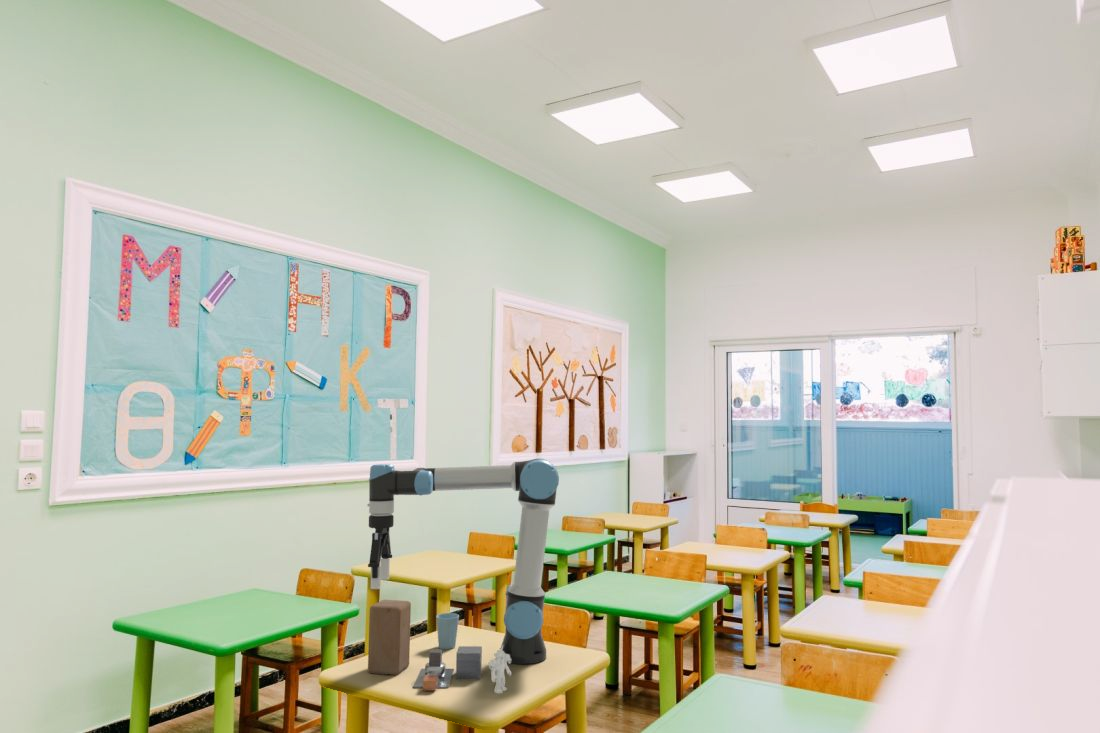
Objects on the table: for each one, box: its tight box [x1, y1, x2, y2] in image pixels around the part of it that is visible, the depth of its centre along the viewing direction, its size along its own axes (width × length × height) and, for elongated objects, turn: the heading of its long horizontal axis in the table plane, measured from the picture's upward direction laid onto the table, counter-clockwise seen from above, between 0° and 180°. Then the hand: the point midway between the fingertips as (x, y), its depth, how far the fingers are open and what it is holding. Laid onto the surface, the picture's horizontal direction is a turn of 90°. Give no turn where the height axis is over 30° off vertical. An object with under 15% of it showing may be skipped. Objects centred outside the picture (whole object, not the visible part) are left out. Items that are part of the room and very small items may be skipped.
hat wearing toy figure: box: [488, 646, 512, 694], centre depth 209 cm, size 9×4×12 cm, turn 148°
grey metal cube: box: [455, 645, 483, 680], centre depth 222 cm, size 7×7×8 cm
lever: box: [412, 648, 455, 691], centre depth 217 cm, size 10×19×7 cm, turn 1°
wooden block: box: [367, 599, 412, 676], centre depth 227 cm, size 10×10×20 cm
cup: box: [435, 612, 460, 650], centre depth 251 cm, size 8×8×10 cm
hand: (380, 584), depth 227 cm, fingers open, 13 cm apart
